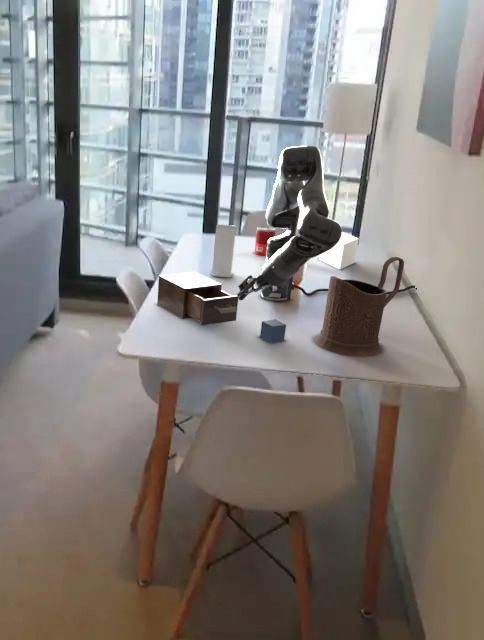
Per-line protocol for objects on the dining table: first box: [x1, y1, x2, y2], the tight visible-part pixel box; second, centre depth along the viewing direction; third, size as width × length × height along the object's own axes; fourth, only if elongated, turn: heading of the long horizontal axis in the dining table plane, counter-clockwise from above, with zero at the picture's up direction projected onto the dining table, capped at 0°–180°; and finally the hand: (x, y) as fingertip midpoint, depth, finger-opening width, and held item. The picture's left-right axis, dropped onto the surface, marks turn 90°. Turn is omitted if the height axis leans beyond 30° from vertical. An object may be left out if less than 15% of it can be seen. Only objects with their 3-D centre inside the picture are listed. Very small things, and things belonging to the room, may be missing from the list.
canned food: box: [254, 225, 277, 257], centre depth 307 cm, size 8×8×11 cm
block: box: [259, 319, 287, 344], centre depth 209 cm, size 5×5×5 cm
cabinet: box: [156, 271, 223, 320], centre depth 231 cm, size 16×14×10 cm
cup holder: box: [315, 256, 405, 357], centre depth 205 cm, size 18×24×25 cm
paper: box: [319, 231, 360, 270], centre depth 301 cm, size 14×29×10 cm, turn 170°
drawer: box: [185, 288, 239, 327], centre depth 221 cm, size 19×13×8 cm, turn 28°
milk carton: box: [211, 223, 237, 278], centre depth 271 cm, size 7×7×19 cm
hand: (251, 295), depth 202 cm, fingers open, 8 cm apart
